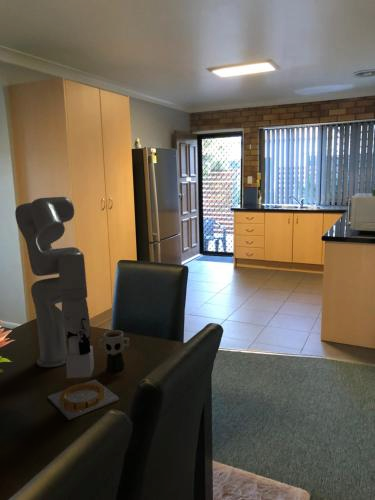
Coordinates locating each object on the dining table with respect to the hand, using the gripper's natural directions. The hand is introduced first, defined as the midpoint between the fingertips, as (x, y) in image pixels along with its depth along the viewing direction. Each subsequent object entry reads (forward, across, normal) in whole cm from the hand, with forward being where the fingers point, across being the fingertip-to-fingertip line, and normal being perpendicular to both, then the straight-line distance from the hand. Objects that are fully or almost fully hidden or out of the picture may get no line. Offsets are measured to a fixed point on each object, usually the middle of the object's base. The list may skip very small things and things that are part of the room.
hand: (79, 349), depth 125 cm
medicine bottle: (+8, 0, 0) cm, 8 cm away
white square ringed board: (+16, 0, 0) cm, 16 cm away
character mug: (+16, -12, +18) cm, 27 cm away
